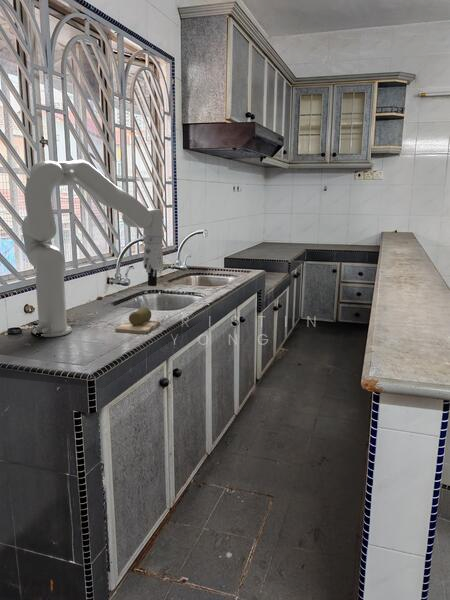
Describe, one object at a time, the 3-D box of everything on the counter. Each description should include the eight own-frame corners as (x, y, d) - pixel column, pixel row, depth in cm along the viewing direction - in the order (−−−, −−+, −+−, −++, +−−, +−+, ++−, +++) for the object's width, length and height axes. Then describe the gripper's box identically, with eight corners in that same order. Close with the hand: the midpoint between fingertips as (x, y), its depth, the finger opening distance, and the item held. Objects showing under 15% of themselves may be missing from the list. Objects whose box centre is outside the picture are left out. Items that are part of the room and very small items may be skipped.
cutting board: (146, 334, 177) (146, 330, 176) (115, 331, 179) (115, 328, 179) (159, 324, 190) (159, 321, 190) (131, 322, 193) (131, 319, 192)
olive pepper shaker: (134, 310, 193) (123, 315, 182) (147, 304, 191) (137, 308, 181) (140, 324, 193) (130, 329, 182) (154, 318, 192) (144, 323, 181)
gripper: (154, 242, 186) (154, 289, 190) (168, 239, 200) (167, 283, 204) (136, 240, 188) (136, 288, 191) (151, 238, 202) (150, 282, 205)
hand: (152, 285), depth 198 cm, fingers closed
